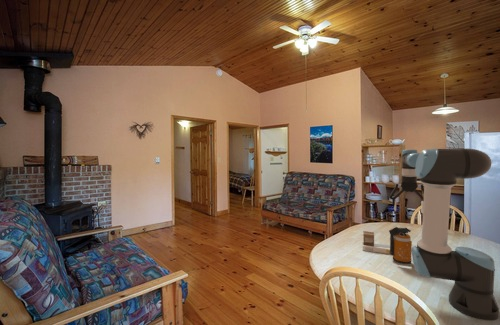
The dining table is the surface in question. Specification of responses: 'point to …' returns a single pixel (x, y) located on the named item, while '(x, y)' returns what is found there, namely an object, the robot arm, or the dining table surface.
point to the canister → (400, 245)
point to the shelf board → (377, 248)
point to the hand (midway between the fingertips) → (408, 211)
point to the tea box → (368, 238)
